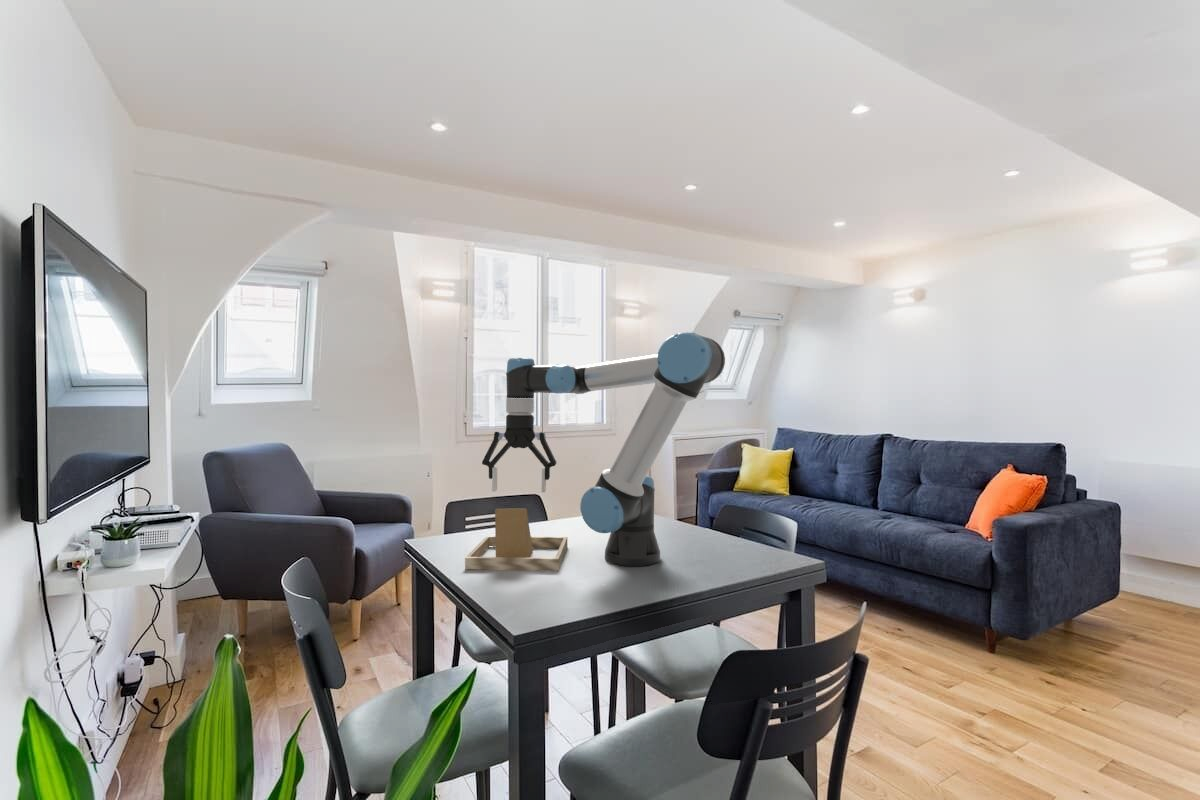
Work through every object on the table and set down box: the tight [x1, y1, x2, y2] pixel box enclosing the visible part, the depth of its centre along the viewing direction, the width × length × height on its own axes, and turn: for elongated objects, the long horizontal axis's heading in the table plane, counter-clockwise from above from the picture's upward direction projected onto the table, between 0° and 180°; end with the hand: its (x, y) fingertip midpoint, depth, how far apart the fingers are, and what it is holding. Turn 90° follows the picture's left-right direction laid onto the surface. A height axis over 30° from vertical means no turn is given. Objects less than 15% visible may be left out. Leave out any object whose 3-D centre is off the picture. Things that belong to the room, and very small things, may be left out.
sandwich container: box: [494, 507, 534, 558], centre depth 164 cm, size 9×15×15 cm, turn 0°
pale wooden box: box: [464, 535, 568, 571], centre depth 163 cm, size 24×24×3 cm
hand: (519, 491), depth 163 cm, fingers open, 13 cm apart
